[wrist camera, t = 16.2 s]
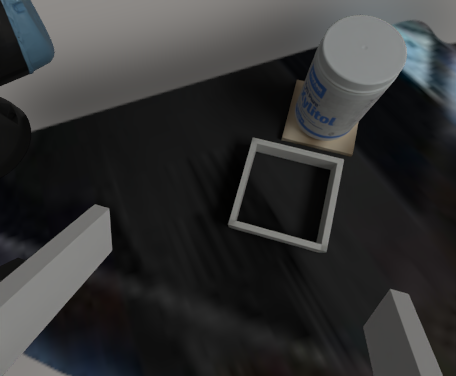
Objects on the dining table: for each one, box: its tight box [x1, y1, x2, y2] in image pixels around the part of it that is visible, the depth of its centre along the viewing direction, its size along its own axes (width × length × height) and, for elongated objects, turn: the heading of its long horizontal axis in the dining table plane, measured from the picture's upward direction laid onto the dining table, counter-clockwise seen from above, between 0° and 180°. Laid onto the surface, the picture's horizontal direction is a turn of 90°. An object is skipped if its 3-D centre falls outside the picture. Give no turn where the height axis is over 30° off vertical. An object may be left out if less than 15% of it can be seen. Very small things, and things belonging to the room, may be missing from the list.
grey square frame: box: [228, 138, 344, 253], centre depth 41 cm, size 14×14×3 cm
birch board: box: [282, 80, 359, 156], centre depth 45 cm, size 11×11×1 cm
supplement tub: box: [295, 15, 407, 141], centre depth 37 cm, size 10×10×15 cm
